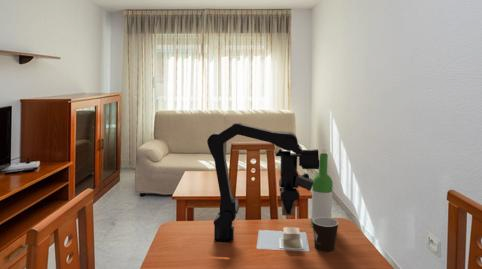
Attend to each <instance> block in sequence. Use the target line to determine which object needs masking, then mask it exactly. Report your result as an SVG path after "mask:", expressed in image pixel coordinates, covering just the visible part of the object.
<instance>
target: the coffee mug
mask: <svg viewBox="0 0 482 269" xmlns="http://www.w3.org/2000/svg"><path fill="white" fill-rule="evenodd" d="M338 228H339V221H338V220H336V219H334V218H332V217H331V218H327V217H318V218H314V219H313V227H312V230H313V242H314V248H315V250H317V251H319V252H322V253H323V252H324V253H330V252H333V251H335V245H336V240H337V239H336V238H337V235H338Z"/></svg>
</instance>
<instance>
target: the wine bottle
mask: <svg viewBox="0 0 482 269" xmlns="http://www.w3.org/2000/svg"><path fill="white" fill-rule="evenodd" d="M312 180H313V182H314V183H313V186H312V188H311V191H312V192H311V193H312V195H311V213H310V214H311V217H310V218H311V219H310V222H311V223H310V225H311V227H312V228H313V219H314V218H318V217H327V218H332V210H333V207H332V206H333V205H332V204H333V186H334V185H333V184H334V183H333V180H332V178H331V176H330V175H329V174H328V153H323V152H322V153H319V169H318V174H317V175H315V176H314V177H313V179H312Z"/></svg>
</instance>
